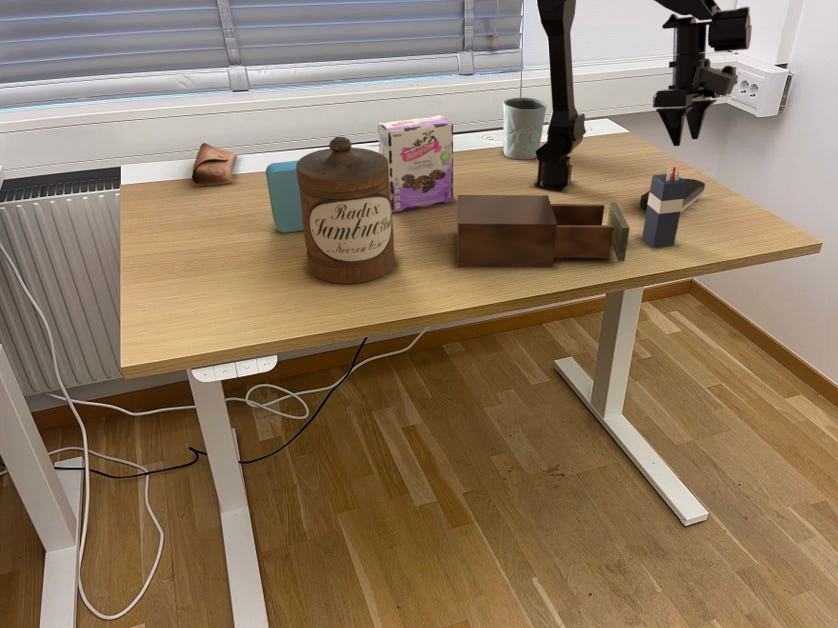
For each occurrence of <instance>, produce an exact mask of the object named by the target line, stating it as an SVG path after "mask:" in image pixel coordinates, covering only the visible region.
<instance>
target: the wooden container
mask: <svg viewBox="0 0 838 628" xmlns="http://www.w3.org/2000/svg"><path fill="white" fill-rule="evenodd" d="M328 147H329V148H325V149H320V150H316V151H312V152H310V153H307V154H306V155H305V154H304V156H302V157H301V158H299V159H298V160H297V161H298V162H297V164H296V172H297V179H298V185H299V190H300V199H301V208H302V218H303V228H304V230H303V237H304V245H305V248H306V257H307V264H308V269H309V272H310V273H311V274H313V276H315V277H317V278H318V279H321V280H322V281H327V282H330V283H335V284H359V283H366V282H369V281H373V280H376V279H377V278H381V277H383V276H384V275H386V274H387V273H389V272H390V271H391V270H392V268H394V265H395V243H394V242H395V239H394V222H393V212H392V208H391V195H390V184H389V168H388V161H387V159H386V157H385V156H383V155H382V154H380V153H379V151H375V150H371V149H367V148H360V147H352V142H351V139H349V138H346V137H345V136H335V137H334V138H333V139H331V140H330V141H329V144H328Z"/></svg>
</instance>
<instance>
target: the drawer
mask: <svg viewBox="0 0 838 628" xmlns="http://www.w3.org/2000/svg"><path fill="white" fill-rule="evenodd" d="M550 204H551V207H552V210H553V214H554V217H555V220H556V224H557V226H556V237H555V248H554V258H569V259H570V258H573V259H574V258H577V259H578V258H582V259H584V258H589V259H590V258H591V259H594V258H595V259H596V258H597V259H599V258H601V259H603V258H604V259H605V258H607V259H608V258H611V252H612V250H613V253H614V255H615V257H616V260H617V262H625V260H626V253H627V248H628V242H629V235H630V229H631V228H630V226H629V224H628V222H627V220H626V218H625V215H624V214H623V212H622V210H621V208H620V206H619V204H618V202H617V201H610V202H609V208H608V209H609V210H608V217H607V223H606V225H605V224H604V225H603V220H604V213H605V204H602V203H598V204H597V203H550Z"/></svg>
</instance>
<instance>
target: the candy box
mask: <svg viewBox="0 0 838 628" xmlns="http://www.w3.org/2000/svg"><path fill="white" fill-rule="evenodd" d="M377 128H378V129H377V130H378V131H377V133H378V153H380V154H382V155H383V156H385V157H386V159H387V161H388V168H389V184H390V195H391V208H392V213H397V212H403V211H408V210H414V209H419V208H426V207H431V206H436V205H437V206H438V205H442V204H448V203H453V202H454V123H453V122H452V121H451V120H448V119H447V118H445V117H444V116H442V115H436V116H430V117H422V118H414V119H406V120H396V121H389V122H378V123H377Z"/></svg>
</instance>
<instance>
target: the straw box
mask: <svg viewBox="0 0 838 628" xmlns="http://www.w3.org/2000/svg"><path fill="white" fill-rule="evenodd" d="M680 175H681V168H680V167H676V166H674V167H672V169H671V168H668V169H667V173H660V174H652V176H651V182H650V188H649V191H650V192H649V198H648V205H647V211H645V217H644V223H643V228H642V229H643V230H642V235H641V239H642V240H643V241H644V242H645V243H647V244H648V245H649V246H650V247H651V248H652V249H657V248H665V247H673V246H675V242H676V238H677V232H678V227H679V222H680V218H681V213H682V212H681V209H682V204H683V198H684V193H685V188H686V183H687V182H686V181H685V180H683V179H684V178H683V179H682V177H681V176H680Z"/></svg>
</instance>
